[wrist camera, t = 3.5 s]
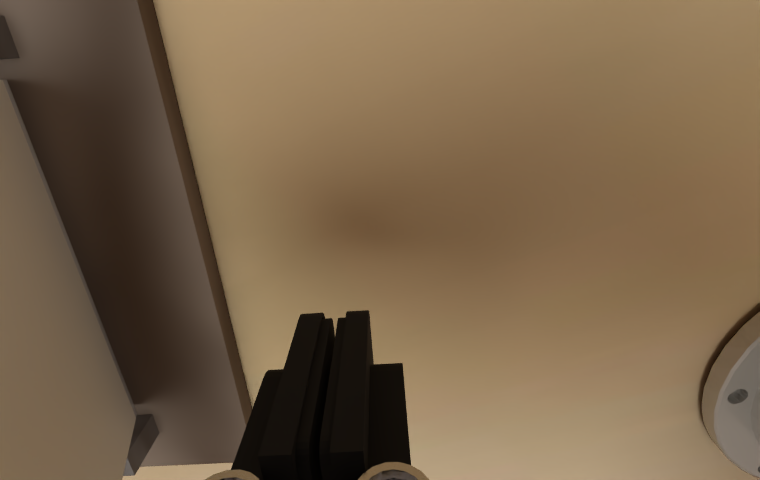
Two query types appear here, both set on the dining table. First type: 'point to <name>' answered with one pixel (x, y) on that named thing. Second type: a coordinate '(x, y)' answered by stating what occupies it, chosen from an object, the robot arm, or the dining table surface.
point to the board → (131, 216)
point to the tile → (50, 336)
